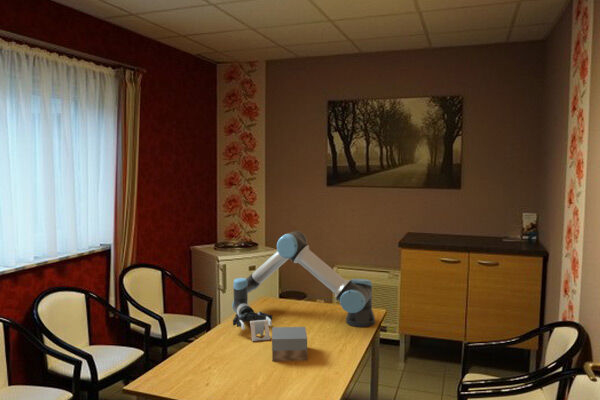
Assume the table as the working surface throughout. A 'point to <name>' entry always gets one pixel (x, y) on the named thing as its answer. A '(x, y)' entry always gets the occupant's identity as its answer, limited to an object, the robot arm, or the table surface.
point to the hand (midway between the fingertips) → (257, 325)
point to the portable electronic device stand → (259, 330)
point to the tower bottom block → (289, 355)
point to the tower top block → (289, 338)
